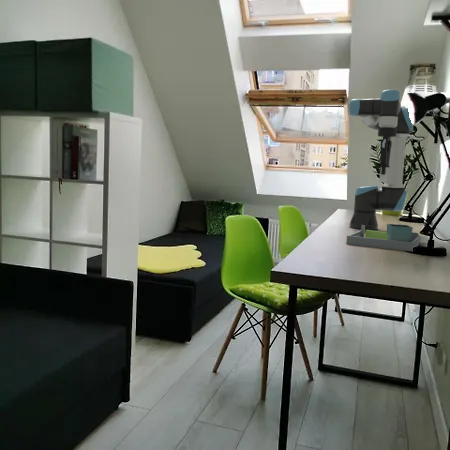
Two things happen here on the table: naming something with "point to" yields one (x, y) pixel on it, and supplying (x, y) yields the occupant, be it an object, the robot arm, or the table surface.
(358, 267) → the table surface
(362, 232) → the grey desk tray
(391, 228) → the flower pot
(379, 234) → the gate
